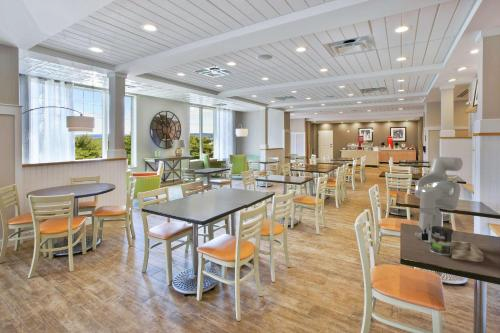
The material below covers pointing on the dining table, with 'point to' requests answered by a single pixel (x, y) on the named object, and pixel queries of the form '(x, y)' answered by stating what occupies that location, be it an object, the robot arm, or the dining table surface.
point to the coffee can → (441, 240)
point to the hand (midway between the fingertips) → (424, 240)
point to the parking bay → (466, 251)
